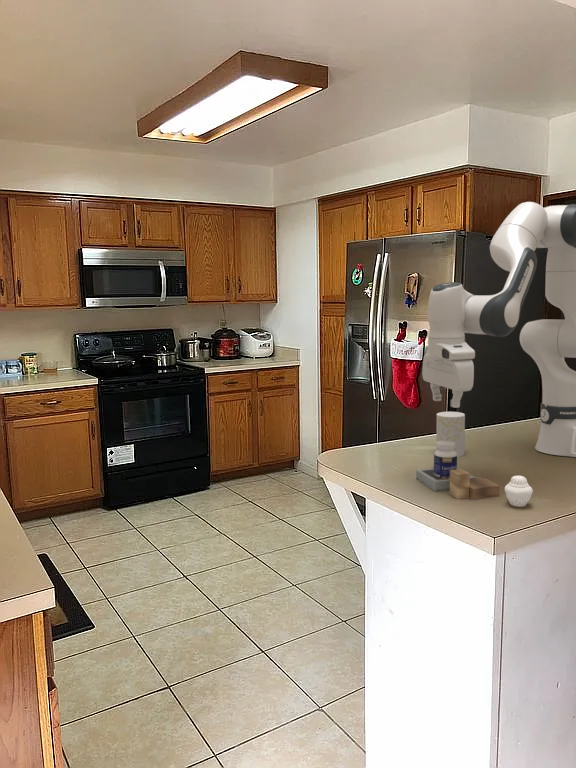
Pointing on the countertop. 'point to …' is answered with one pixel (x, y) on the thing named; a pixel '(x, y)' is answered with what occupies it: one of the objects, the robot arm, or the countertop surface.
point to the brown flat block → (482, 488)
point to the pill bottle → (444, 460)
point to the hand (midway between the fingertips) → (445, 403)
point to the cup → (452, 429)
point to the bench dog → (459, 483)
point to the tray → (433, 480)
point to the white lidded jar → (518, 491)
